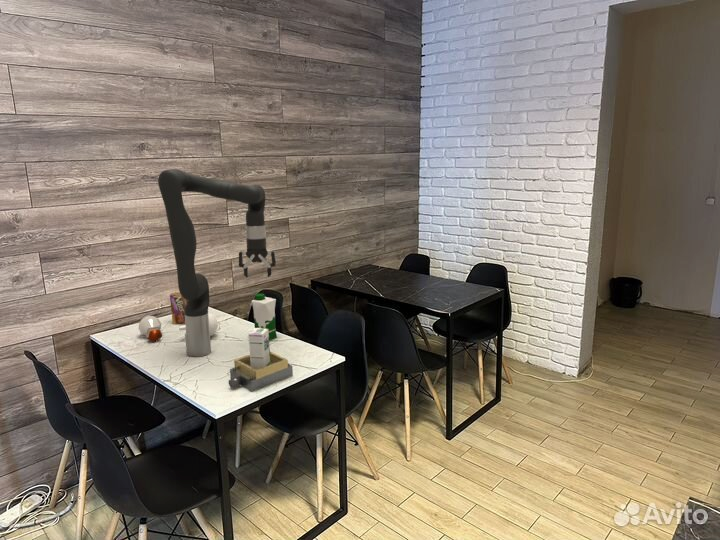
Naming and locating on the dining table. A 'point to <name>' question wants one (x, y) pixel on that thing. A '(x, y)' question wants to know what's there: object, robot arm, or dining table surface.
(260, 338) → the syrup box
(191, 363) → the dining table surface
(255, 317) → the milk carton
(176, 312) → the candy box
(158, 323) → the potion bottle
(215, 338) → the dining table surface
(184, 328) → the piggy bank
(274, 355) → the wooden drawer tray
